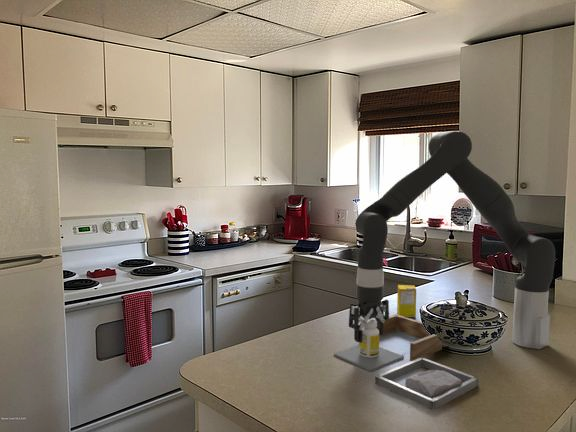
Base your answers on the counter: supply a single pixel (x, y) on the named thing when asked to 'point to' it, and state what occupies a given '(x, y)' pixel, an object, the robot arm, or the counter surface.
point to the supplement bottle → (370, 340)
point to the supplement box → (406, 301)
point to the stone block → (432, 383)
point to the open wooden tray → (414, 328)
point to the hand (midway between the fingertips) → (368, 338)
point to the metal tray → (421, 399)
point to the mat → (368, 363)
